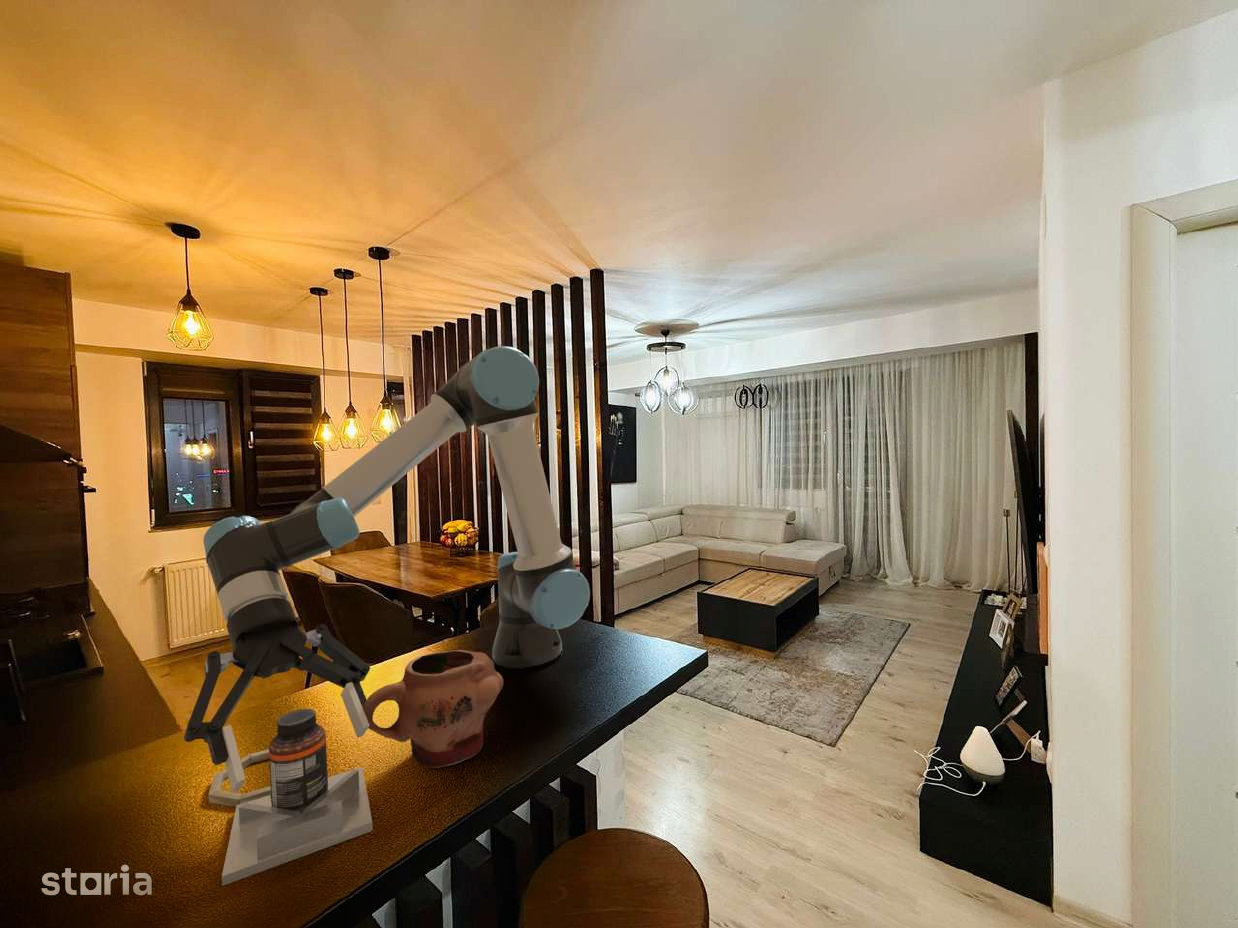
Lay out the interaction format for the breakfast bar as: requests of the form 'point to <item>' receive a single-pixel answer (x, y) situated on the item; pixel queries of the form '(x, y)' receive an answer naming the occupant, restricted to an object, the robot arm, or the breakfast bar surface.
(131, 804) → the breakfast bar surface
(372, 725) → the sculpted ceramic mug
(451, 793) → the breakfast bar surface
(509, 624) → the robot arm
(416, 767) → the breakfast bar surface
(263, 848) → the v-block
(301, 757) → the supplement bottle
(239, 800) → the wooden collar
